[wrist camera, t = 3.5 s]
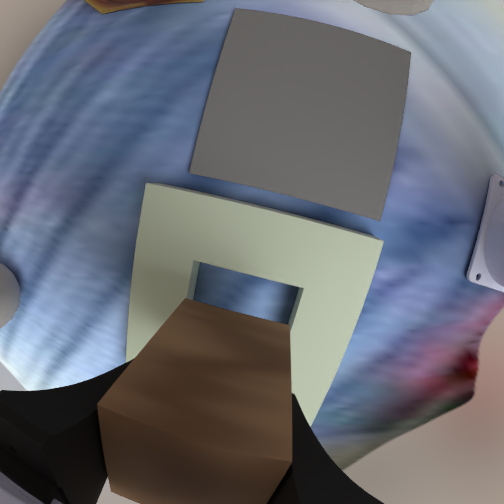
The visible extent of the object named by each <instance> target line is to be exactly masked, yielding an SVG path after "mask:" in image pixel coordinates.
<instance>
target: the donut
mask: <svg viewBox="0 0 504 504" xmlns="http://www.w3.org/2000/svg"><path fill="white" fill-rule="evenodd" d="M19 305H20V286H19V284H18V282H17V280H16V278H15V276H14V274H13V273H12V272H11V271H10V270H9V269H8V268H7V267H6V266H4V265H3V264H1V263H0V328H2V327H3V326H4V325H5V324H7V323H8V322H9V321H10V320H11V319H12V318H13V317H14V315H15V313H16V311H17V309H18V307H19Z"/></svg>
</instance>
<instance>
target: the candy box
mask: <svg viewBox="0 0 504 504" xmlns="http://www.w3.org/2000/svg"><path fill="white" fill-rule="evenodd" d="M85 1H86V2H87V3H88V4H90V5H91V6H92V7H94V8H95V9H96V10H98V11H99V12H100V13H102V14H105V13H109V12H113V11H118V10H123V9H129V8H135V7H142V6H150V5H158V4H170V3H181V2H204V0H85Z"/></svg>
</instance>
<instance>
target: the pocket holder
mask: <svg viewBox="0 0 504 504" xmlns="http://www.w3.org/2000/svg"><path fill="white" fill-rule="evenodd" d="M383 243H384V241H382V240H380V239H379V238H377V237H375V236H373V235H369V234H366V233H362V232H359V231H355V230H352V229H348V228H344V227H341V226H337V225H334V224H330V223H326V222H322V221H319V220H315V219H311V218H307V217H304V216H300V215H296V214H292V213H288V212H284V211H280V210H276V209H272V208H268V207H264V206H260V205H256V204H252V203H247V202H243V201H239V200H235V199H230V198H226V197H222V196H217V195H213V194H208V193H204V192H199V191H195V190H190V189H186V188H181V187H176V186H171V185H166V184H162V183H146V187H145V192H144V197H143V203H142V209H141V215H140V221H139V227H138V234H137V241H136V248H135V255H134V263H133V272H132V281H131V291H130V302H129V314H128V329H127V348H126V362H128V361H130V360H132V359H134V358H135V357H136V356H137V355H138V353H139V352H140V351H141V350H142V349H143V347H144V346H145V345H146V344H147V343H148V341H149V340H150V339H151V338H152V337H153V335H154V334H155V333H156V332H157V331H158V329H159V328H160V327H161V326H162V325H163V324H164V322H165V321H166V320H167V319H168V318H169V316H170V315H171V314H172V313H173V312H174V310H175V309H176V308H177V307H178V306H179V305H180V303H181V302H182V301H183V300H184V299H185V298H187V299H191V300H193V298H194V292H195V287H196V281H197V276H198V271H199V266H200V262H202V263H206V264H210V265H214V266H218V267H222V268H225V269H229V270H233V271H237V272H241V273H245V274H249V275H253V276H257V277H261V278H265V279H269V280H273V281H277V282H281V283H285V284H289V285H293V286H297V287H299V290H298V293H297V296H296V300H295V303H294V306H293V310H292V313H291V316H290V319H289V323H288V325H290V346H291V382H292V393H294V394H295V396H296V398H297V400H298V402H299V405H300V407H301V409H302V411H303V414H304V416H305V418H306V420H307V422H308V424H309V425H310V426H311V425H312V423H313V421H314V419H315V417H316V415H317V413H318V411H319V409H320V406H321V404H322V402H323V400H324V398H325V396H326V394H327V392H328V390H329V387H330V385H331V383H332V381H333V379H334V376H335V374H336V372H337V370H338V367H339V365H340V363H341V360H342V358H343V356H344V353H345V351H346V348H347V346H348V343H349V341H350V339H351V336H352V333H353V331H354V328H355V326H356V323H357V320H358V318H359V315H360V312H361V310H362V307H363V304H364V301H365V299H366V296H367V293H368V290H369V287H370V284H371V281H372V278H373V275H374V272H375V269H376V266H377V263H378V259H379V256H380V253H381V250H382V246H383Z"/></svg>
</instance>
